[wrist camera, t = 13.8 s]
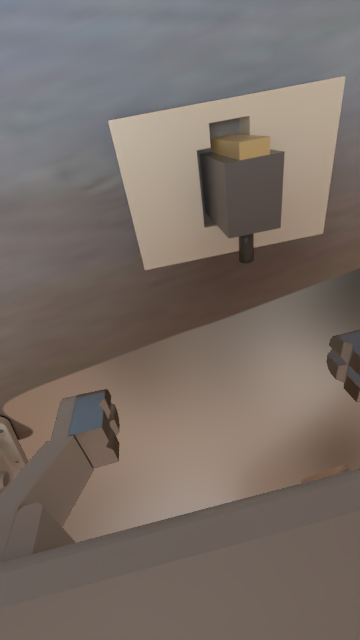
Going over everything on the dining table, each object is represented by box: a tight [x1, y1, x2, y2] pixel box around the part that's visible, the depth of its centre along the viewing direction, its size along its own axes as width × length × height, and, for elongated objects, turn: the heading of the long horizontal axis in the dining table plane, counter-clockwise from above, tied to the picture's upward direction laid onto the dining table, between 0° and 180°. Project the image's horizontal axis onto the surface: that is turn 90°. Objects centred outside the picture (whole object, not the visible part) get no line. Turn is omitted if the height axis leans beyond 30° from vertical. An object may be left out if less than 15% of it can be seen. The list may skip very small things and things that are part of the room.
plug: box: [200, 134, 285, 263], centre depth 24 cm, size 9×4×8 cm, turn 9°
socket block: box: [108, 76, 346, 270], centre depth 26 cm, size 12×18×4 cm, turn 99°
